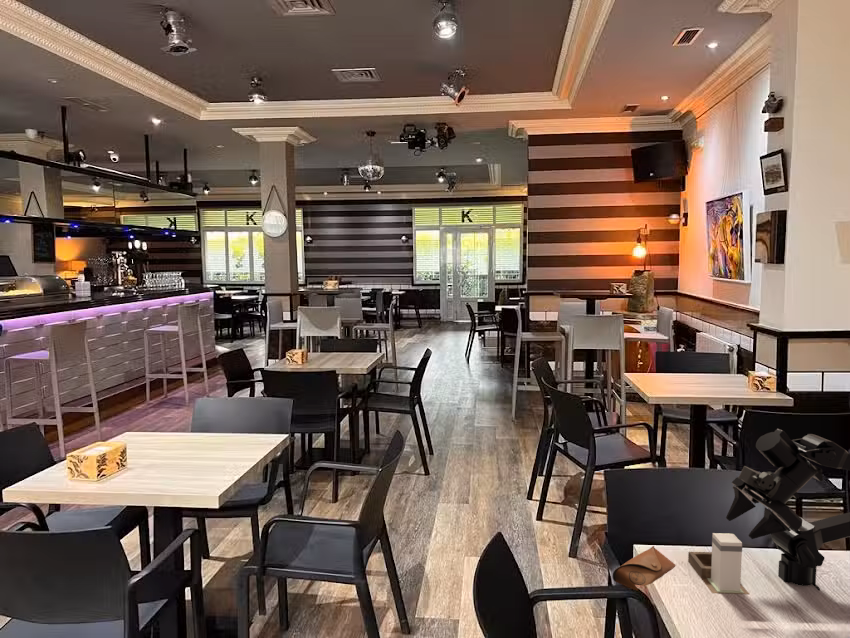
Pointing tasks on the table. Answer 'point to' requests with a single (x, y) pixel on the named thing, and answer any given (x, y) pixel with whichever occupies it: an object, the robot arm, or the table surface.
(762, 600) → the table surface
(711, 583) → the green mat
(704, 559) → the brown wooden tray
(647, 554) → the sunglasses case
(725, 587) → the cream square block
